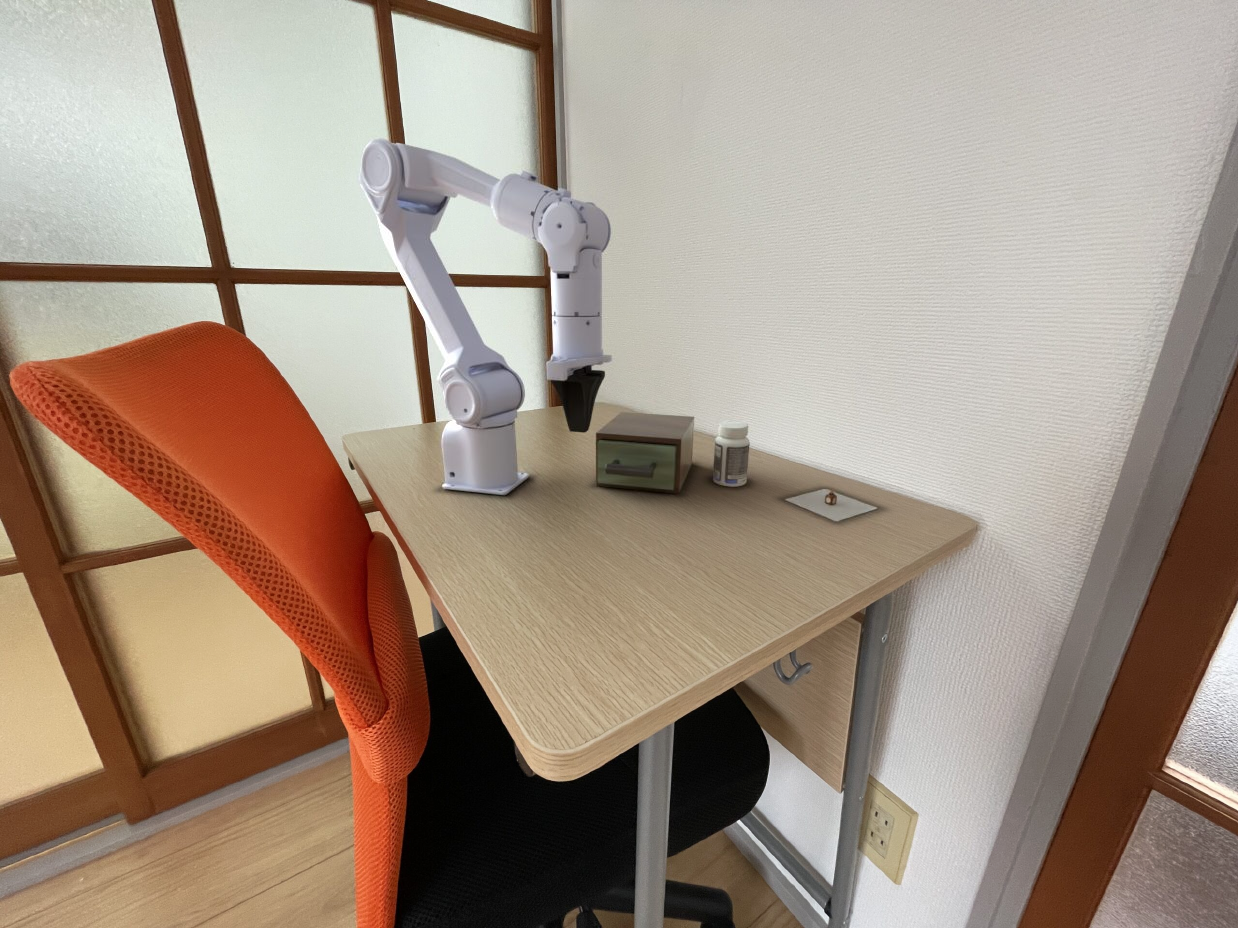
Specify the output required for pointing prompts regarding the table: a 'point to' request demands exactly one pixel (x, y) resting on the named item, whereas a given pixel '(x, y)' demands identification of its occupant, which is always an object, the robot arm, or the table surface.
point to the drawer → (636, 464)
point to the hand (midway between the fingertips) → (579, 430)
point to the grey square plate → (831, 504)
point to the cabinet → (653, 440)
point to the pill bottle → (731, 454)
